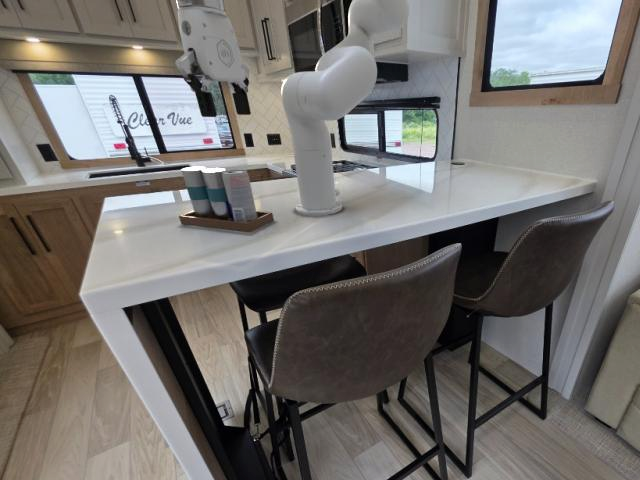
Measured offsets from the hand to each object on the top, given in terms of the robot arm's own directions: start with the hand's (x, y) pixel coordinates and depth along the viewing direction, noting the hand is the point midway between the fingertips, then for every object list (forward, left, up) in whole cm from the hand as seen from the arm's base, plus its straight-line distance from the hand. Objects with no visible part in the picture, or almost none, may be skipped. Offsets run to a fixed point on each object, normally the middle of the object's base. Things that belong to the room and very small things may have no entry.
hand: (227, 115), depth 67 cm
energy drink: (0, -2, -23) cm, 23 cm away
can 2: (0, -7, -23) cm, 24 cm away
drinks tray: (0, -7, -23) cm, 24 cm away
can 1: (0, -13, -23) cm, 26 cm away
